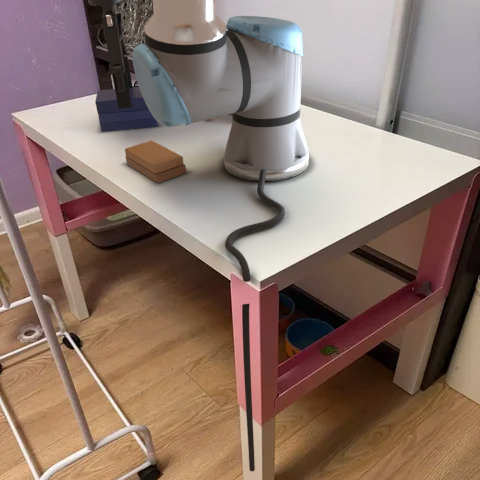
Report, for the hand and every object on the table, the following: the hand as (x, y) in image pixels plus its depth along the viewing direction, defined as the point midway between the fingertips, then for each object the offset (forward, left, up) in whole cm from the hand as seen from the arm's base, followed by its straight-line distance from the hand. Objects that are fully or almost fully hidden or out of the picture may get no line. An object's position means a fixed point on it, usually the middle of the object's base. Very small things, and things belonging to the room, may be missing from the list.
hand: (126, 98), depth 109 cm
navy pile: (0, 0, -5) cm, 5 cm away
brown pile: (-26, -5, -5) cm, 27 cm away
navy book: (+1, 0, -2) cm, 2 cm away
